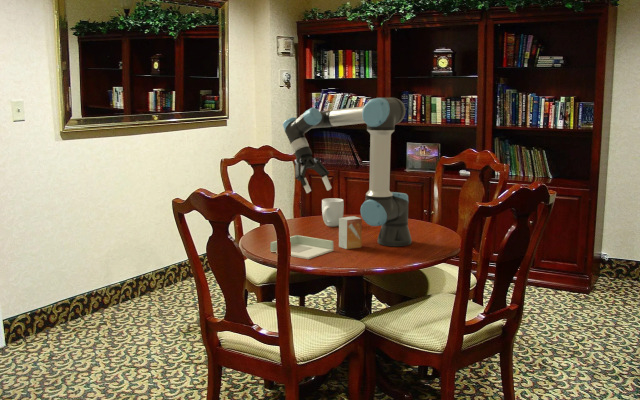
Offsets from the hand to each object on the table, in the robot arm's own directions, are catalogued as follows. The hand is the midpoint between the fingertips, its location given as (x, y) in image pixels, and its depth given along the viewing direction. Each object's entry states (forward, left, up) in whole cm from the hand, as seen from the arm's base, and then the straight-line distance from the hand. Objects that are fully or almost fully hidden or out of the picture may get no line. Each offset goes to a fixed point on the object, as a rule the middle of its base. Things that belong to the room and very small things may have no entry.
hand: (319, 190), depth 303 cm
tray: (-6, +21, -23) cm, 32 cm away
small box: (-18, +2, -23) cm, 30 cm away
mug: (+15, -31, -23) cm, 41 cm away
